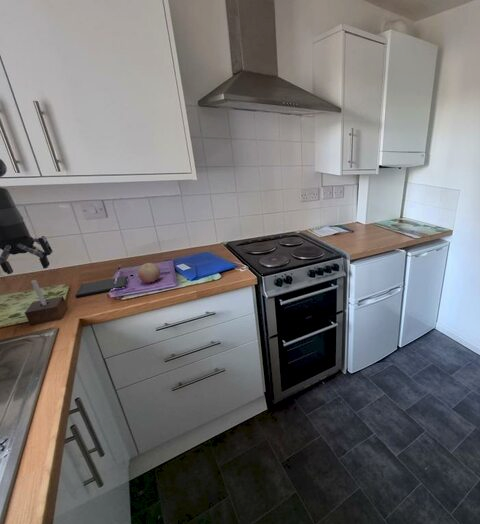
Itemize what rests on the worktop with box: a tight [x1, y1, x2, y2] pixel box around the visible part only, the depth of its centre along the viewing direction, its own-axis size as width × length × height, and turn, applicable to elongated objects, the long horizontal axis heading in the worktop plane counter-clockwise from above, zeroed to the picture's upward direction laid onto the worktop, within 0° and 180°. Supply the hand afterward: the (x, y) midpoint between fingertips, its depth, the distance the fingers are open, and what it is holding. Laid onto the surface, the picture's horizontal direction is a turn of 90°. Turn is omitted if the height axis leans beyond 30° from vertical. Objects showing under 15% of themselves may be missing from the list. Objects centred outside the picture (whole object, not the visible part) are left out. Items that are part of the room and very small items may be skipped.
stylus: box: [30, 279, 47, 306], centre depth 102 cm, size 1×1×14 cm
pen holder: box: [24, 295, 69, 326], centre depth 104 cm, size 8×8×5 cm
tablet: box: [75, 275, 129, 299], centre depth 124 cm, size 16×11×1 cm
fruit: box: [137, 262, 161, 284], centre depth 128 cm, size 8×8×8 cm
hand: (28, 270), depth 97 cm, fingers open, 8 cm apart
